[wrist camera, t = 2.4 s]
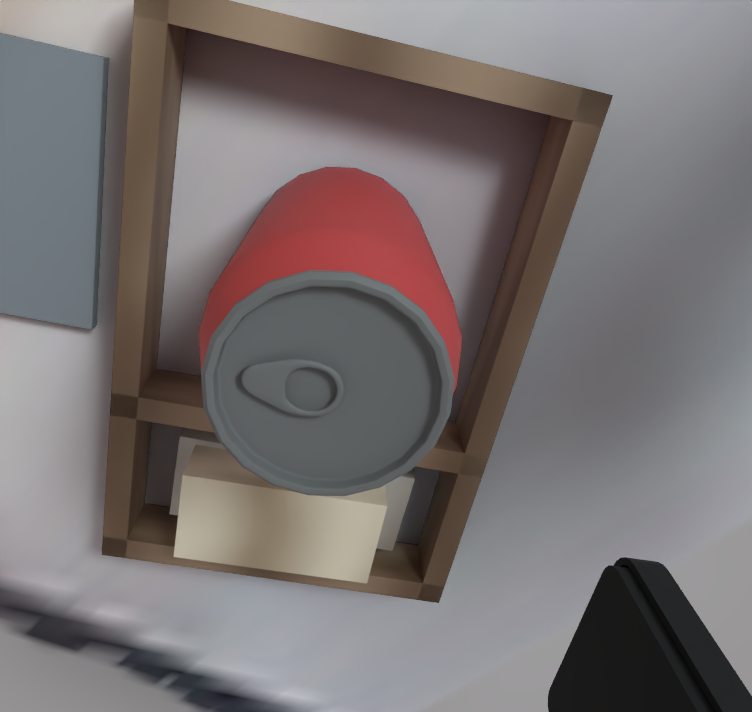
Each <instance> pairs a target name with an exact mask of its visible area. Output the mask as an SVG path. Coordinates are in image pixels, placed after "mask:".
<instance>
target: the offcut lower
mask: <svg viewBox="0 0 752 712" xmlns="http://www.w3.org/2000/svg"><path fill="white" fill-rule="evenodd" d="M195 445H201V446H207V447H213V448H220V449H226V448H225V447H224V446H223V445H222V444H221V443H220V442H219V440H218V439H217V437H216V435H215V433H213V432H207V431H201V430H195V429H189V428H183V430H182V433H181V435H180V438H179V445H178V453H177V460H176V468H175V475H174V483H173V490H172V497H171V505H170V512H169V514H172V515H178V512H179V503H180V494H181V485H182V476H183V473H184V471H185V468H186V466H187V463H188V461H189V459H190V456H191V454H192V452H193V449H194V447H195ZM226 450H227V449H226ZM414 481H415V475H414V469H412V470H410V471H409V472H407V473H405V474H403V475H402V476H400V477H398V478H396V479H394V480H393V481H391V482H389V483H387V484H386V495H387V510H386V514H385V517H384V521H383V525H382V529H381V533H380V536H379V540H378V544H377V549H383V550H389V551H393V548H394V545H395V542H396V538H397V535H398V532H399V529H400V526H401V522H402V519H403V516H404V513H405V510H406V506H407V503H408V500H409V497H410V494H411V490H412V487H413V484H414Z"/></svg>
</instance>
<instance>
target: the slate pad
mask: <svg viewBox="0 0 752 712" xmlns="http://www.w3.org/2000/svg"><path fill="white" fill-rule="evenodd" d="M108 65H109V58H106V57H102V56H98V55H93V54H89V53H85V52H80V51H76V50H72V49H67V48H63V47H59V46H55V45H50V44H46V43H42V42H37V41H33V40H29V39H24V38H20V37H16V36H11V35H7V34H3V33H0V313H4V314H9V315H15V316H20V317H26V318H31V319H36V320H42V321H47V322H53V323H58V324H64V325H69V326H75V327H80V328H86V329H91V330H92V329H93V328H94V327H95V326H96V325H97V304H98V282H99V260H100V239H101V217H102V195H103V173H104V152H105V130H106V108H107V86H108Z"/></svg>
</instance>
